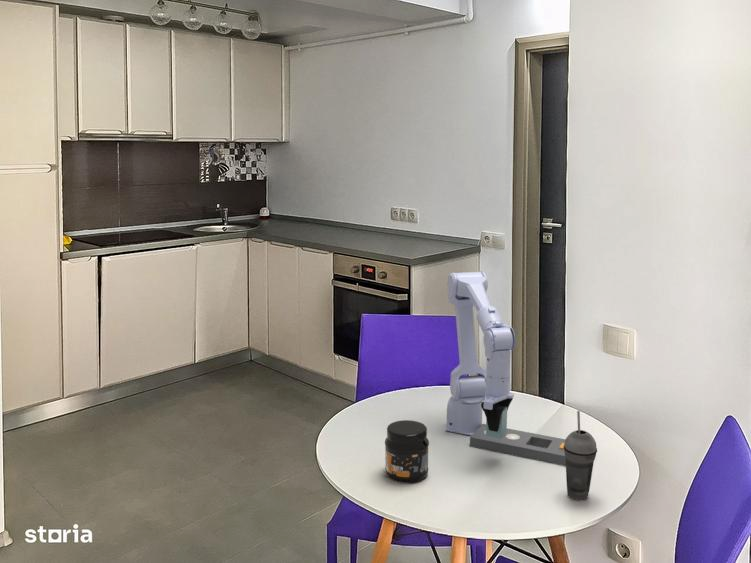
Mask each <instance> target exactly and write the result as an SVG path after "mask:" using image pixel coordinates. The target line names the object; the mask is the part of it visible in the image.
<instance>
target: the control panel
mask: <svg viewBox="0 0 751 563" xmlns="http://www.w3.org/2000/svg"><path fill="white" fill-rule="evenodd" d="M565 440H566V438H560V437H556V436H549V435H544V434H539V433H534V432H529V431H525V430H524V431H522V430H519V429H518V430H517V429H514V428H513V429H511V428H507V432H506V434H505V436H504V437H503V438H502V439H498V438H493V437H488V436H486V423H482V425H481V426H480V427H479V428H478V429H477V430H476V431H475V432H474V434H473V435H472V436H471V435H470V437H469V447H472V448H473V447H474V448H478V449H482V450H488V451H492V452H496V453H497V452H498V453H501V454H506V455H507V454H508V455H512V456H516V457H521V458H527V459H531V460H537V461H542V462H545V463H551V464H556V465H561V466H565V467H566V457H565V453H564V444H565Z"/></svg>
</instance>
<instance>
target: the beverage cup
mask: <svg viewBox="0 0 751 563" xmlns="http://www.w3.org/2000/svg"><path fill="white" fill-rule="evenodd" d="M576 412H577V415H576V416H577V430H574V431H572V432H570V433H568V435H567V436H566V438H565V439H566V440H565V444H564V453H565V457H566V466H565V473H566V474H565V478H566V492H567V494H566V496H567V497H568V498H569V499H571V500H573V501H577V502H584V501H586V500H588V499H589V494H590V489H591V482H592V476H593V471H594V470H593V469H594V461H595V460H596V455H597V453H598V448H597V443H596V440H595V438H594V436H592V434H591V433H590V432H588V431H586V430H583V429H581V416H580V410H577V411H576Z"/></svg>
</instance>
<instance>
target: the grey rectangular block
mask: <svg viewBox="0 0 751 563" xmlns="http://www.w3.org/2000/svg"><path fill="white" fill-rule="evenodd" d="M485 420H486V422H485V424H486V436H488V437H493V438H498V439H502V438H503V437H504V436H505V434H506V432H507V426H508V425H507V424H508V410H507V407H505V408H504V410H503V412H502V415H501V418H500V424H499V429H498V431H497V432H495V431H490V430H489V428H488V423H487V419H486V418H485Z"/></svg>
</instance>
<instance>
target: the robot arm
mask: <svg viewBox="0 0 751 563" xmlns="http://www.w3.org/2000/svg"><path fill="white" fill-rule="evenodd" d="M488 280H489V279H488V277H487V274H486V273H485V272H484V271H481V270H480V271H472V272H471V271H470V272H468V271H467V272H450V274H449V275H448V277H447V282H446V286H447V298H448V303H450V304H451V305H453V306H454V311H455V323H456V334H457V346H458V347H457V348H458V356H459V358H458V359H459V363H458V365H457V366H456V367H455V368H454V369H453V370H451V372H450V381H449V389H450V394H451V396H450V397H449V399H448V401H447V404H446V405H447V406H446V428H445V431H446V432H449V433H457V434H460V435H461V434H462V435H466V436H470V437H471V436H472V435H473V434H474V432H475V431H476V430H477V429H478V428H479V427H480V426H481V425H482V424H483V412H484V415H485V420H486V419H487V423H488V428H489V430H490V431H495V432H497V431H498V429H499V424H500V418H501V415H502V412H503V410H504V408H505V407H507V411H509V407H510V405H511V403H512V401H513V399H514V397H515V394H514V393H512V392H511V383H510V382H511V380H510V378H511V359H512V358H511V355H512V354H511V353H512V352H511V351H514V349H515V346H516V335H515V331H514V329H513V327H512V326H509V325H508V324H505V322H504V320H503V318H502V316H501V314H500V312H499V310H498V309H497V308H496V307H495V306H493V305H491V303H490V300H489V296H488V294H487V290H488V288H489V286H488V285H489V281H488ZM473 307H474V308H475V310H476V312H477V313H476V320H477V323H478V326H479V327H480V330H481V331H482V333H483V340H482V341H483V346H484V356H485V357H486V368H484V367H483V366H481V365H480V364H479V363H478V354H477V345H476V341H477V340H476V332H475V321H474V308H473Z"/></svg>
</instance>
